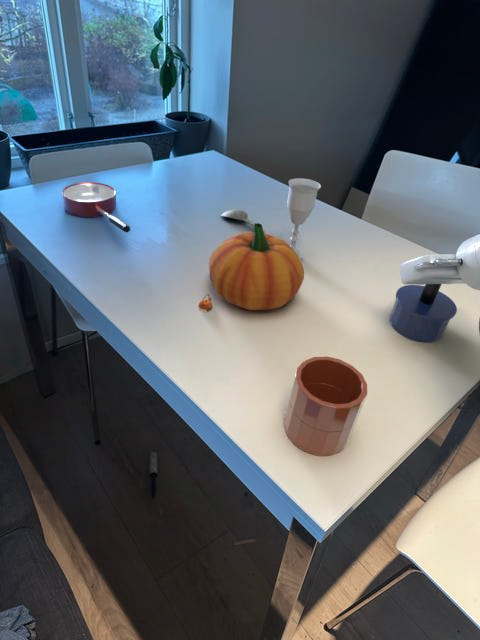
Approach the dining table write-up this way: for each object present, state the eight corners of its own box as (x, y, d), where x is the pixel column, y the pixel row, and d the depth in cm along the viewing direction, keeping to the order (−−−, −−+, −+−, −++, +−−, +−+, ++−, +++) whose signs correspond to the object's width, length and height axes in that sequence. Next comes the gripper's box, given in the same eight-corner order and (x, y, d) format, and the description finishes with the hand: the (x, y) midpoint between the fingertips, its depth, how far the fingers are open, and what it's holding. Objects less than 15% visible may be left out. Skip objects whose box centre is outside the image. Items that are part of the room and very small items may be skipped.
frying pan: (163, 243, 106) (162, 218, 102) (112, 256, 99) (109, 229, 95) (103, 194, 125) (101, 172, 121) (56, 202, 118) (53, 179, 114)
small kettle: (196, 304, 88) (196, 293, 86) (210, 301, 89) (211, 290, 87) (201, 312, 86) (202, 301, 84) (215, 310, 87) (216, 298, 85)
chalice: (286, 266, 103) (300, 191, 92) (270, 253, 108) (281, 179, 97) (311, 261, 107) (327, 188, 96) (294, 248, 111) (308, 177, 100)
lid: (460, 305, 88) (483, 260, 82) (445, 332, 80) (469, 284, 74) (405, 283, 93) (422, 239, 87) (386, 306, 85) (403, 259, 79)
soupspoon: (235, 213, 125) (216, 219, 122) (236, 202, 123) (216, 207, 120) (288, 244, 112) (268, 251, 108) (290, 232, 110) (269, 239, 106)
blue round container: (448, 324, 91) (458, 302, 88) (433, 349, 84) (445, 327, 81) (399, 304, 95) (407, 282, 92) (381, 326, 88) (390, 303, 85)
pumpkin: (312, 315, 89) (329, 248, 80) (219, 323, 84) (225, 253, 75) (280, 265, 103) (291, 204, 94) (199, 270, 98) (202, 205, 89)
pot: (358, 425, 67) (377, 378, 61) (331, 468, 61) (349, 420, 55) (303, 394, 71) (316, 347, 65) (271, 431, 65) (282, 382, 59)
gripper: (430, 281, 68) (383, 297, 81) (543, 280, 72) (481, 295, 86) (425, 241, 69) (380, 263, 82) (537, 242, 73) (477, 263, 86)
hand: (432, 280), depth 84 cm, fingers open, 4 cm apart
